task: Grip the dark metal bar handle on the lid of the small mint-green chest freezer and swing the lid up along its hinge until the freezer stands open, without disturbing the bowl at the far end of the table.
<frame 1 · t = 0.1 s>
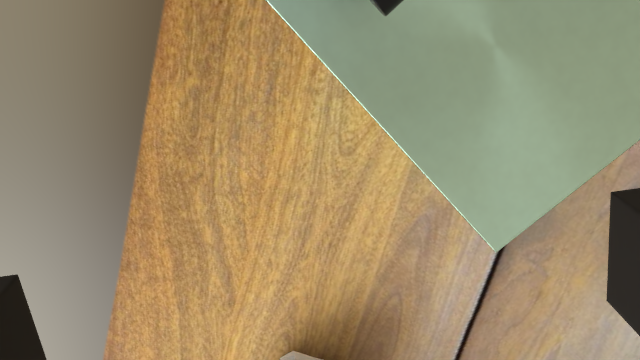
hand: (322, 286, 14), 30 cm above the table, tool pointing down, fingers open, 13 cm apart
freezer lid: (517, 55, 28), point 15 cm above the table, hinge at 0.0°
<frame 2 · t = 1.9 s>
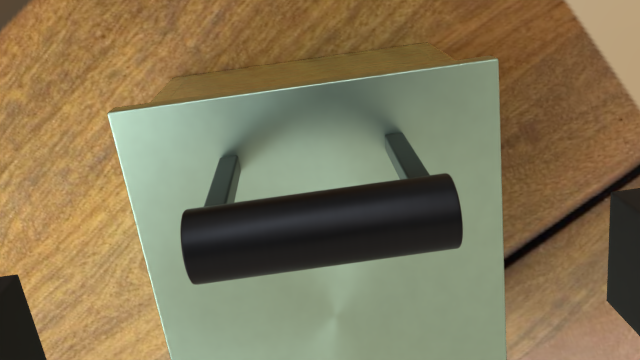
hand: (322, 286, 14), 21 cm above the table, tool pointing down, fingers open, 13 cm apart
freezer: (321, 211, 36), on the table
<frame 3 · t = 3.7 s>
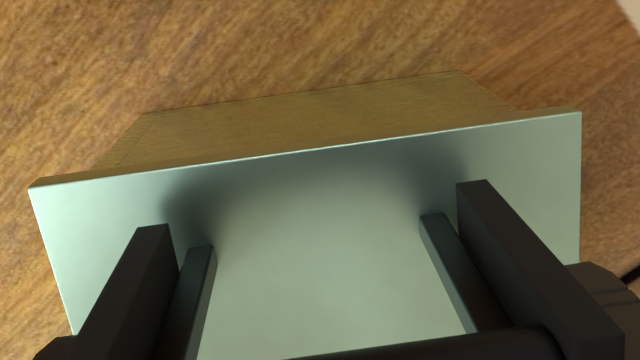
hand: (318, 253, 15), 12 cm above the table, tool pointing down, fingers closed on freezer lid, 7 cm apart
freezer: (326, 273, 29), on the table
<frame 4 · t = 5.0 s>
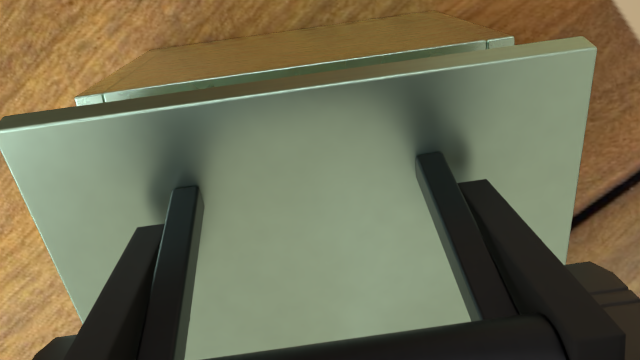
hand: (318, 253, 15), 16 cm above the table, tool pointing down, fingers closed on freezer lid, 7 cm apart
freezer: (316, 201, 32), on the table
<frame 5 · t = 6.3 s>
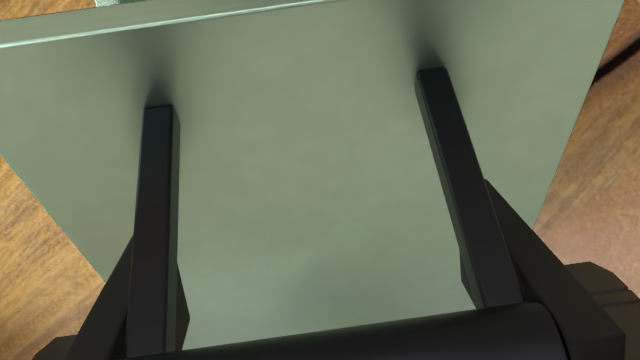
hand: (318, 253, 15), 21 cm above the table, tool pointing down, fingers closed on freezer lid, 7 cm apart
freezer lid: (333, 352, 17), point 20 cm above the table, hinge at 34.7°, touching gripper
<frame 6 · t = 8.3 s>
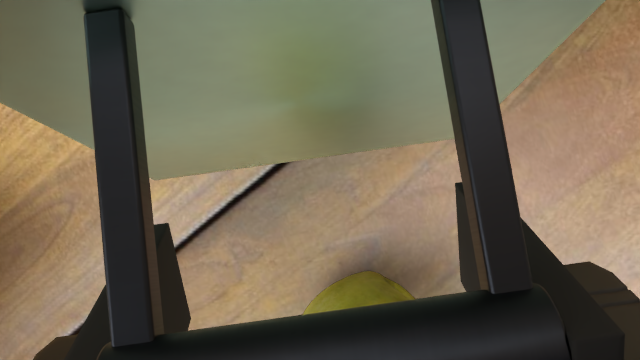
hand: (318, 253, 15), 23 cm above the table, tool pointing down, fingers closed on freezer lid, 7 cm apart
freezer lid: (315, 216, 17), point 21 cm above the table, hinge at 61.7°, touching gripper
apple: (352, 305, 43), on the table
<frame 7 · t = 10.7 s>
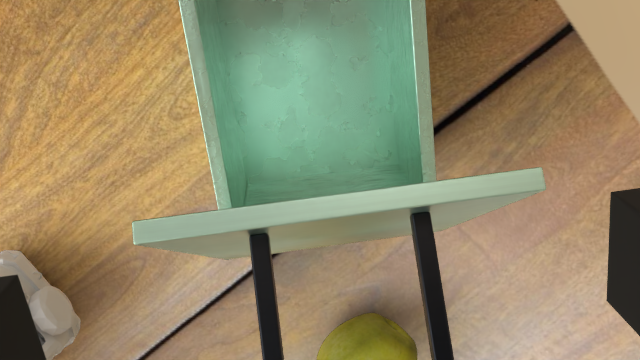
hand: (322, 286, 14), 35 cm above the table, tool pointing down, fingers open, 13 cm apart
freezer lid: (346, 306, 29), point 21 cm above the table, hinge at 61.9°
apple: (358, 337, 55), on the table
freezer: (309, 71, 47), on the table
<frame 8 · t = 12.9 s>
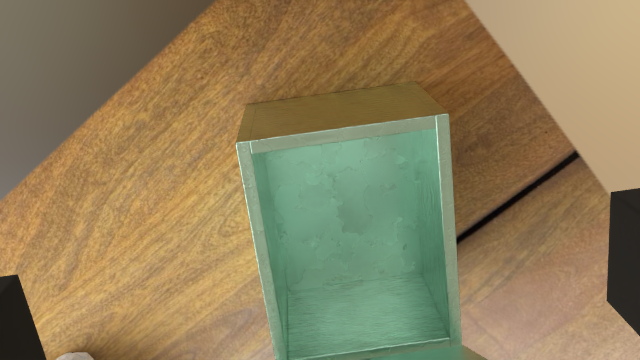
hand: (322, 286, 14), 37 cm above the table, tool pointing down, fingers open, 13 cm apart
freezer: (343, 194, 52), on the table
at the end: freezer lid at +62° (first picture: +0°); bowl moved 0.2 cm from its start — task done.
